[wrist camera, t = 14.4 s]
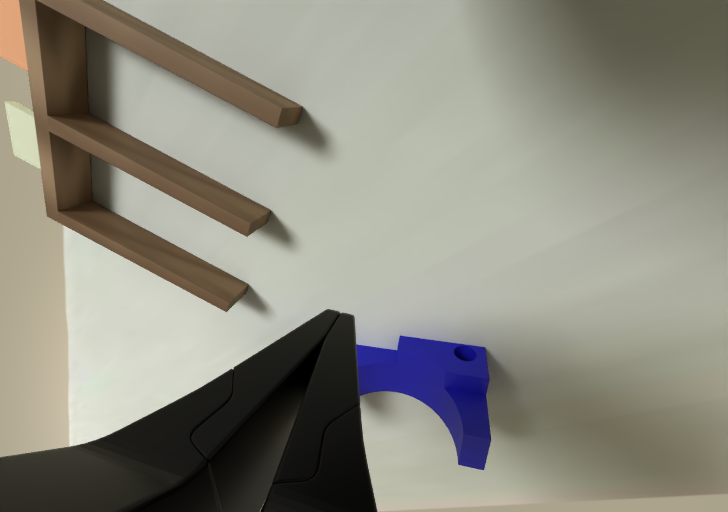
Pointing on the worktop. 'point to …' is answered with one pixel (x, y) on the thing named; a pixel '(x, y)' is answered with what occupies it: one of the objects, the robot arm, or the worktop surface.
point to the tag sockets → (123, 134)
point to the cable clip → (436, 386)
